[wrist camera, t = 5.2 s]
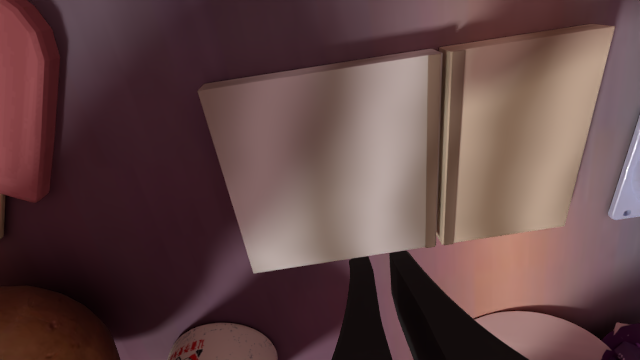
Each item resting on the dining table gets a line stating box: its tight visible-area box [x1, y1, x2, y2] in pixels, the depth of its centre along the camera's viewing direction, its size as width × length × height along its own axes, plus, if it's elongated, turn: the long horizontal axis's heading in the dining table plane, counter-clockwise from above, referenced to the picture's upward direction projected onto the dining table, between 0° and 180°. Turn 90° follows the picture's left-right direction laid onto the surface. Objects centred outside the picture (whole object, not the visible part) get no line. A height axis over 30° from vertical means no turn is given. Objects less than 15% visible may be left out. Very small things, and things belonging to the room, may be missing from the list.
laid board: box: [436, 24, 615, 245], centre depth 20 cm, size 8×12×2 cm, turn 8°
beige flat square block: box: [198, 49, 442, 273], centre depth 20 cm, size 12×12×2 cm
